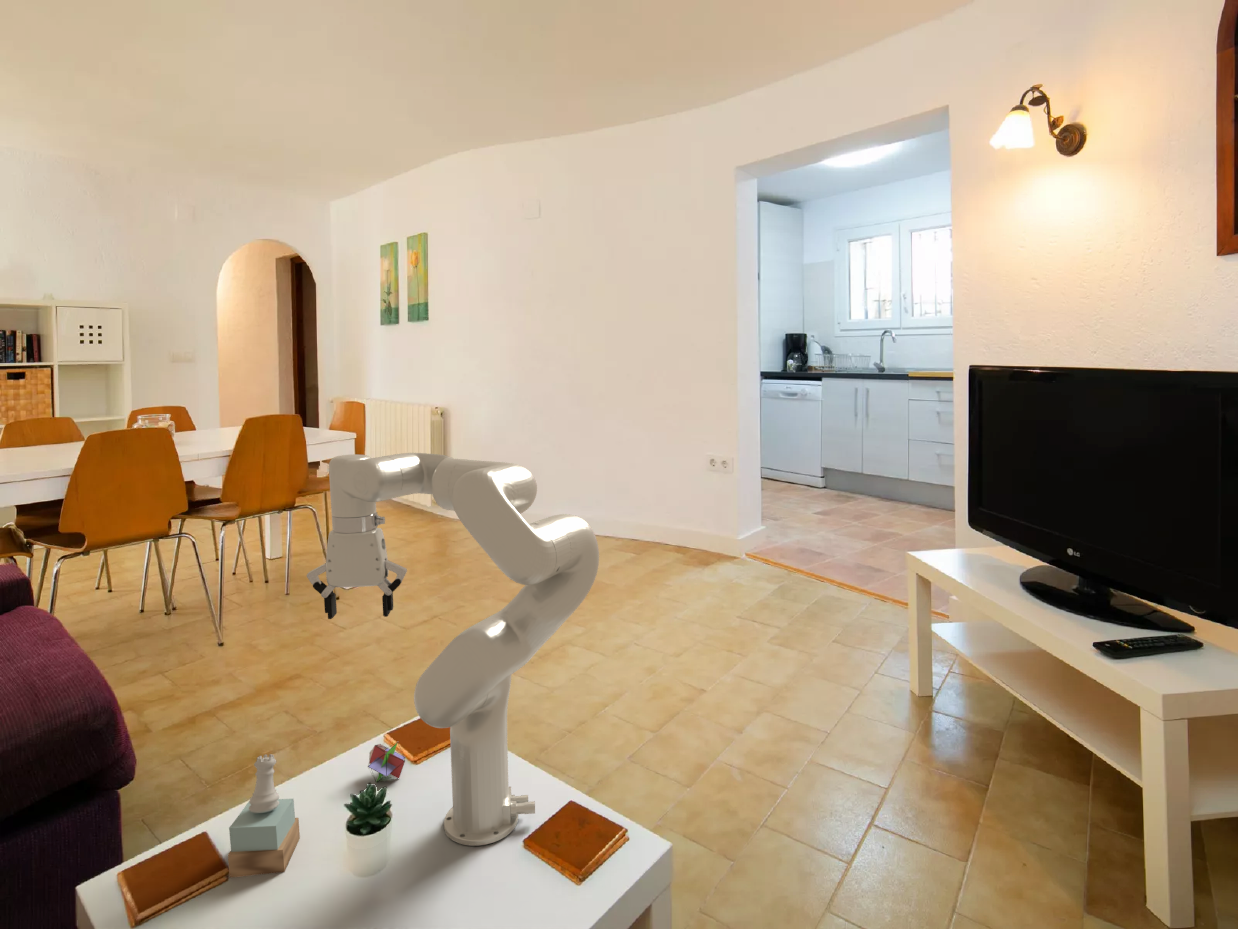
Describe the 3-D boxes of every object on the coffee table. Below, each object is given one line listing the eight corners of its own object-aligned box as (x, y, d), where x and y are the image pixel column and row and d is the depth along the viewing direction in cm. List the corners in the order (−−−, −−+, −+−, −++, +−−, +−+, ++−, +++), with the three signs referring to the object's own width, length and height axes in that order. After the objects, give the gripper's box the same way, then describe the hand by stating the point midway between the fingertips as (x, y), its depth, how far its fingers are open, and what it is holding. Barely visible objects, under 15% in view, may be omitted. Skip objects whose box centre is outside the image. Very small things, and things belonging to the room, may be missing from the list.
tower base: (300, 839, 117) (298, 817, 116) (284, 873, 109) (282, 849, 108) (249, 844, 116) (247, 822, 115) (229, 878, 108) (227, 855, 107)
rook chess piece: (259, 816, 108) (261, 762, 109) (242, 811, 111) (243, 758, 111) (285, 805, 112) (286, 754, 113) (268, 801, 114) (269, 750, 115)
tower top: (295, 820, 115) (293, 798, 115) (277, 849, 108) (275, 825, 108) (251, 823, 115) (249, 800, 114) (231, 851, 108) (229, 828, 107)
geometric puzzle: (421, 760, 136) (397, 727, 136) (402, 780, 129) (377, 745, 130) (395, 777, 138) (372, 744, 138) (376, 798, 131) (351, 763, 131)
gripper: (408, 518, 130) (412, 606, 132) (311, 520, 128) (316, 610, 130) (400, 527, 122) (404, 620, 125) (297, 529, 120) (303, 625, 123)
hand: (359, 615), depth 127 cm, fingers open, 9 cm apart
